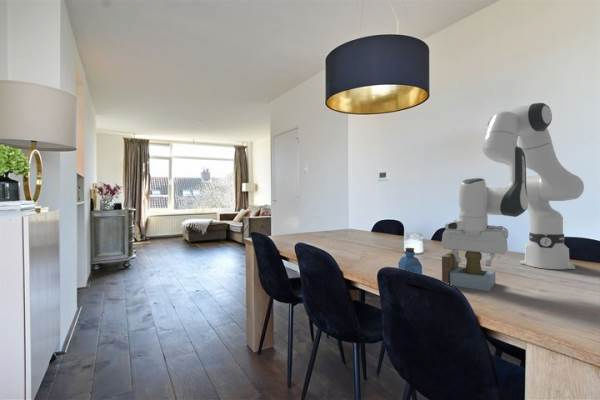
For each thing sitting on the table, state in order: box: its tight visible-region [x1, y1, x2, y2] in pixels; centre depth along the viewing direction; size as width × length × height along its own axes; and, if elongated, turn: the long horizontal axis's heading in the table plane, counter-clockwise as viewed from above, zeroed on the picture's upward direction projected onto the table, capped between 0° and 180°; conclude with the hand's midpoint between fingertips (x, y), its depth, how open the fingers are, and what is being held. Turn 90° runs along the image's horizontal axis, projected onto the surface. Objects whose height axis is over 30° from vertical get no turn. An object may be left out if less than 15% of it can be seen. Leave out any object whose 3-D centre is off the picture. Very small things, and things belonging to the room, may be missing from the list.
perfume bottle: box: [398, 247, 423, 275], centre depth 119 cm, size 6×6×12 cm
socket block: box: [450, 266, 496, 292], centre depth 113 cm, size 12×12×4 cm
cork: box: [464, 251, 483, 276], centre depth 113 cm, size 6×6×11 cm
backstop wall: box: [441, 250, 460, 284], centre depth 118 cm, size 14×2×10 cm, turn 140°
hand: (473, 264), depth 113 cm, fingers open, 8 cm apart
